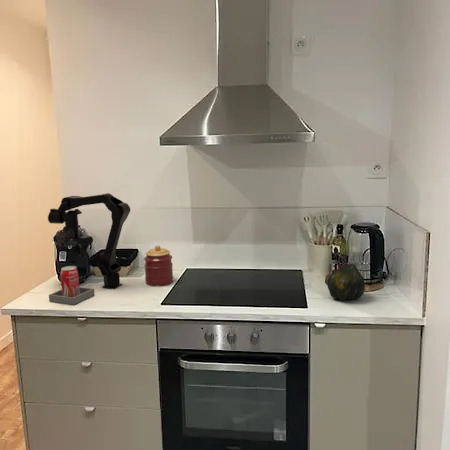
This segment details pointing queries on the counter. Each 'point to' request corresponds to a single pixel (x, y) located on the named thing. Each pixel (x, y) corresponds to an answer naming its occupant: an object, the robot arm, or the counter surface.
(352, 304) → the counter surface
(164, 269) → the canister
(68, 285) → the soda can
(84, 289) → the bin
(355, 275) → the squash
